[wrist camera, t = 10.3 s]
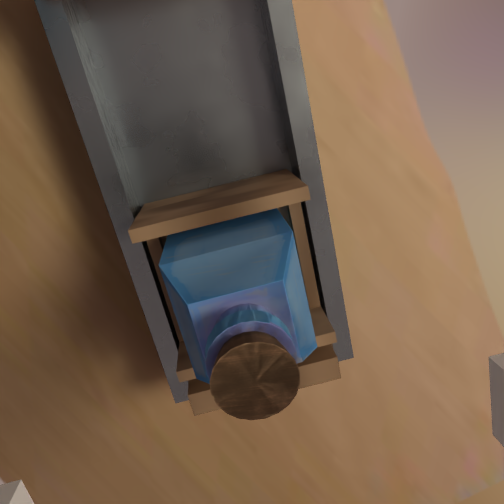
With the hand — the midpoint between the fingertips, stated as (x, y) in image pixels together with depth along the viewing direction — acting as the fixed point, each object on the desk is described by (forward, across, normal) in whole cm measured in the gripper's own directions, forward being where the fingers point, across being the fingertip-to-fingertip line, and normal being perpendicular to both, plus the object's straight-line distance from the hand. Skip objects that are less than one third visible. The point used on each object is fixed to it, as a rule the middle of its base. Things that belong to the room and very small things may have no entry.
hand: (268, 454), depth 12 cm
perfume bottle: (+15, 0, 0) cm, 15 cm away
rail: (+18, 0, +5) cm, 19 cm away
